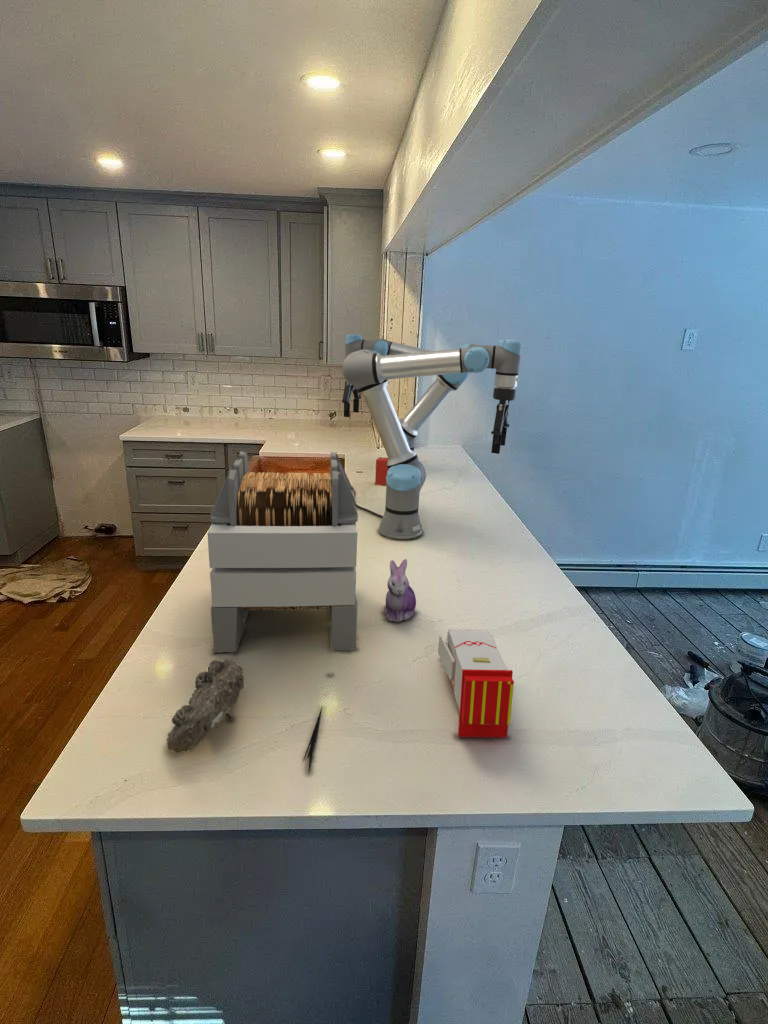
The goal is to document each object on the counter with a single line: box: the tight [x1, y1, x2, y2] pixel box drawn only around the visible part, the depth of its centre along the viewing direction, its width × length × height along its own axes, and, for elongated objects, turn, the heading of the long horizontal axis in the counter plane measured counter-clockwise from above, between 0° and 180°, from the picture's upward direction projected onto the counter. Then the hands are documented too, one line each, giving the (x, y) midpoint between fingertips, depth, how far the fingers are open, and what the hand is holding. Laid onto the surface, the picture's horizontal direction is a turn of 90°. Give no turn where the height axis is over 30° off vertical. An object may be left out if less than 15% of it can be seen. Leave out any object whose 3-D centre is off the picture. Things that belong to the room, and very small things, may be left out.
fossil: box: [166, 658, 245, 754], centre depth 106 cm, size 22×10×15 cm
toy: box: [437, 628, 515, 738], centre depth 117 cm, size 12×13×30 cm
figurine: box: [384, 558, 417, 623], centre depth 145 cm, size 9×10×15 cm
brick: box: [374, 456, 388, 487], centre depth 254 cm, size 5×7×12 cm
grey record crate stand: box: [206, 450, 359, 654], centre depth 137 cm, size 34×33×41 cm
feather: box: [301, 673, 332, 771], centre depth 108 cm, size 2×28×2 cm
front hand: (498, 449), depth 199 cm, fingers open, 13 cm apart
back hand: (351, 414), depth 271 cm, fingers open, 13 cm apart
